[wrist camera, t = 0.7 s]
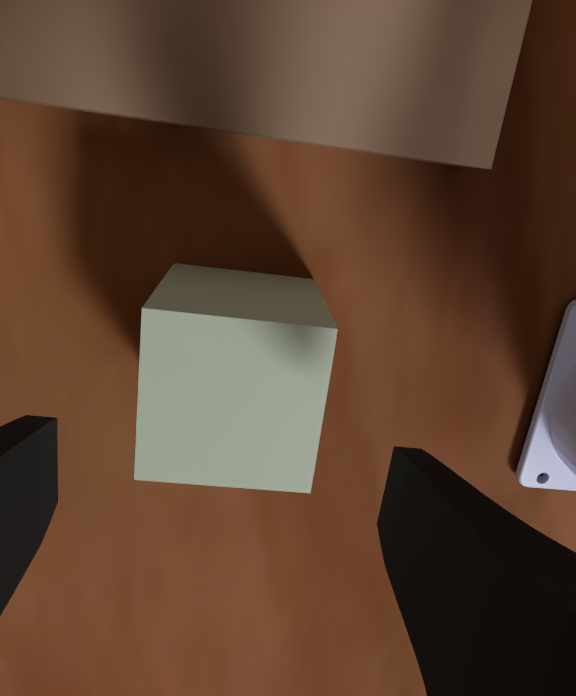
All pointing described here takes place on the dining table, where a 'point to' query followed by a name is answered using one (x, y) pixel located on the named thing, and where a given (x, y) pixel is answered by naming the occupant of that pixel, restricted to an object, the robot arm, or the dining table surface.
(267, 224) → the dining table surface
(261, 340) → the sage block
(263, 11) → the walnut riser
